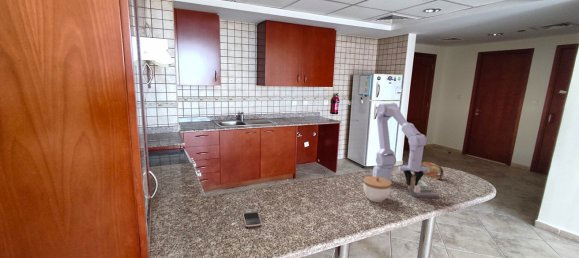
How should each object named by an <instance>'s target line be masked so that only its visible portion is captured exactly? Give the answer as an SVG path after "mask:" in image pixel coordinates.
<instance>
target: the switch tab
mask: <svg viewBox="0 0 579 258" xmlns="http://www.w3.org/2000/svg"><path fill="white" fill-rule="evenodd" d="M420 190H421V187H419V186H415V188H414V192H415V193H420Z"/></svg>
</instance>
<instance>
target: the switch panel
mask: <svg viewBox="0 0 579 258" xmlns="http://www.w3.org/2000/svg"><path fill="white" fill-rule="evenodd" d="M407 192H408V193H409V194H410V195H412V196H413V197H414V198H430V199H431V198H432V199H433V198H435V199H437V198H438V199H439V195H438V194H437V192H434V190H432V188H428V189H421V190H420V193H415V192H411V191H408V190H407Z"/></svg>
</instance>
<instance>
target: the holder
mask: <svg viewBox="0 0 579 258" xmlns="http://www.w3.org/2000/svg"><path fill="white" fill-rule="evenodd" d="M417 186H419V187H421V189H429V185H428V184H426V183H425V182H424V181H423V180H419V182H418V184H417Z"/></svg>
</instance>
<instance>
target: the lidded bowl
mask: <svg viewBox="0 0 579 258" xmlns="http://www.w3.org/2000/svg"><path fill="white" fill-rule="evenodd" d="M391 182H392V181H391ZM391 182H390V181H389V180H387V179H385V178H382V177H376V176H373V175H371V176H366V177H364V178H363V192H364V194H365V196H366V197H367V199H368V200H370V201H371V202H375V203H381V202H384V200H386V199H387V198H388V197H389V195H390V192H391V189H392V184H391Z"/></svg>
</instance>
